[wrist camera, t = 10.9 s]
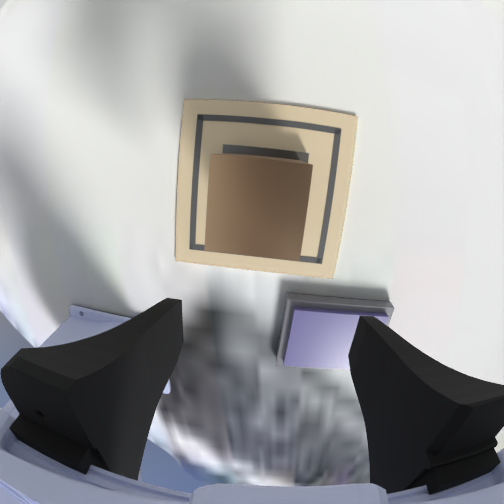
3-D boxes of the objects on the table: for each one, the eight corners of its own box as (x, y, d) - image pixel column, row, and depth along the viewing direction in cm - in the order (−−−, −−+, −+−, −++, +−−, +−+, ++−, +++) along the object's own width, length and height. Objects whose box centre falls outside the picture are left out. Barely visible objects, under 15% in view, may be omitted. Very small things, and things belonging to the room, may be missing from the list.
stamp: (220, 221, 19) (192, 260, 13) (226, 144, 18) (199, 141, 11) (297, 230, 19) (309, 273, 12) (306, 152, 17) (327, 154, 11)
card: (176, 260, 21) (175, 261, 20) (185, 99, 17) (183, 99, 17) (332, 277, 20) (333, 278, 20) (356, 116, 16) (357, 116, 16)
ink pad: (276, 357, 23) (276, 369, 21) (287, 292, 21) (288, 303, 19) (368, 362, 23) (372, 373, 21) (390, 301, 20) (396, 311, 19)
